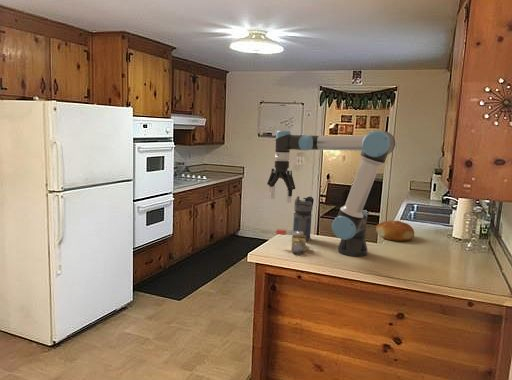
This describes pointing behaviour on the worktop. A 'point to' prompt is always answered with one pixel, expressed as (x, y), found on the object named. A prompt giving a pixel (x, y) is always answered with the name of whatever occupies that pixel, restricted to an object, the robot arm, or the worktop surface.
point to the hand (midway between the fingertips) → (280, 200)
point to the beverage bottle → (303, 215)
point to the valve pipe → (298, 244)
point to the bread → (395, 231)
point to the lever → (289, 232)
